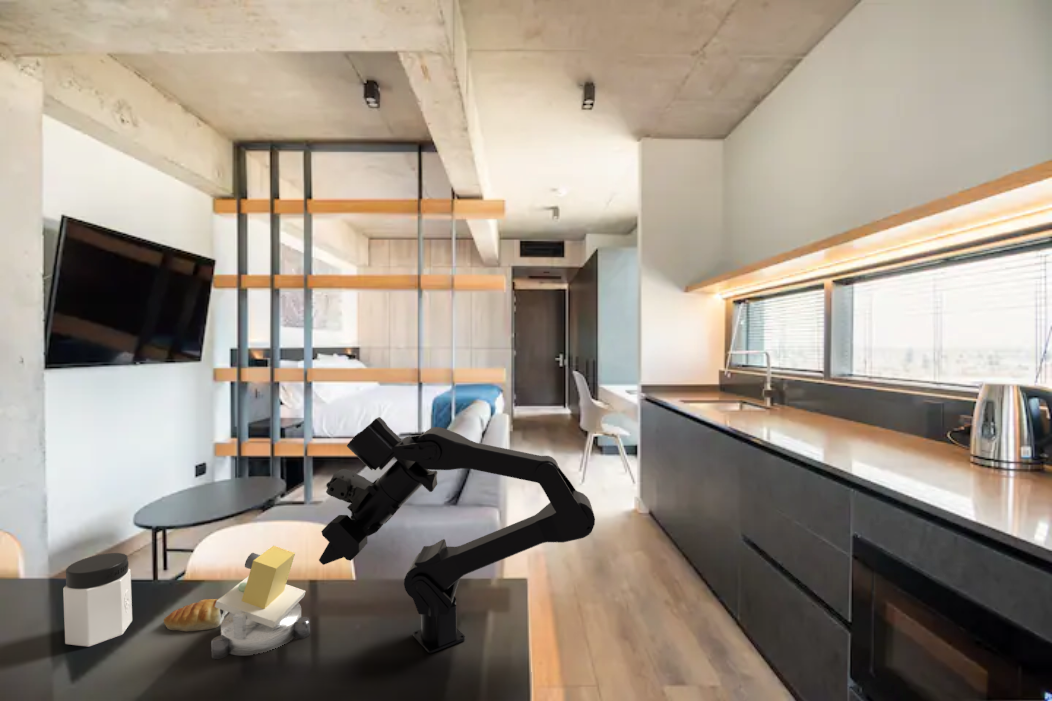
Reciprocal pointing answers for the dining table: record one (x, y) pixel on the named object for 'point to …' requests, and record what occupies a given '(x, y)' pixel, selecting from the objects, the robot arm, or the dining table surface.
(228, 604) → the instrument
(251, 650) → the tribrach base
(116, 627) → the jar
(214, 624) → the pastry
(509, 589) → the dining table surface
